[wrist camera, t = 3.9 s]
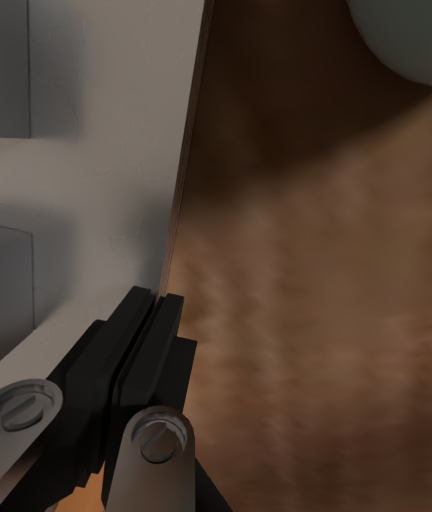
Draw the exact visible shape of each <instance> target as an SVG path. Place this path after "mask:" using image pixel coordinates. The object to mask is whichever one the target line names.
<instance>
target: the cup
mask: <svg viewBox="0 0 432 512" xmlns="http://www.w3.org/2000/svg"><path fill="white" fill-rule="evenodd" d="M346 2H347V5H348V8H349V11H350V14H351V17H352V20H353V23H354V25H355V26H356V28H357V30H358V32H359V33H360V35H361V37H362V39H363V41H364V42H365V44H366V46H367V47H368V48H369V50H370V51H371V52H372V53H373V54H374V55H375V56H376V57H377V58H378V60H379V61H380V62H381V63H382V64H383V65H384V66H386V67H387V68H389V69H390V70H392V71H394V72H395V73H397V74H398V75H400V76H401V77H403V78H405V79H408V80H410V81H413V82H417V83H420V84H424V85H428V86H431V87H432V0H346Z"/></svg>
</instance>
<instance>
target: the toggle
mask: <svg viewBox="0 0 432 512" xmlns="http://www.w3.org/2000/svg"><path fill="white" fill-rule="evenodd" d="M0 138H18V139H29V100H28V50H27V0H0Z"/></svg>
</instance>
